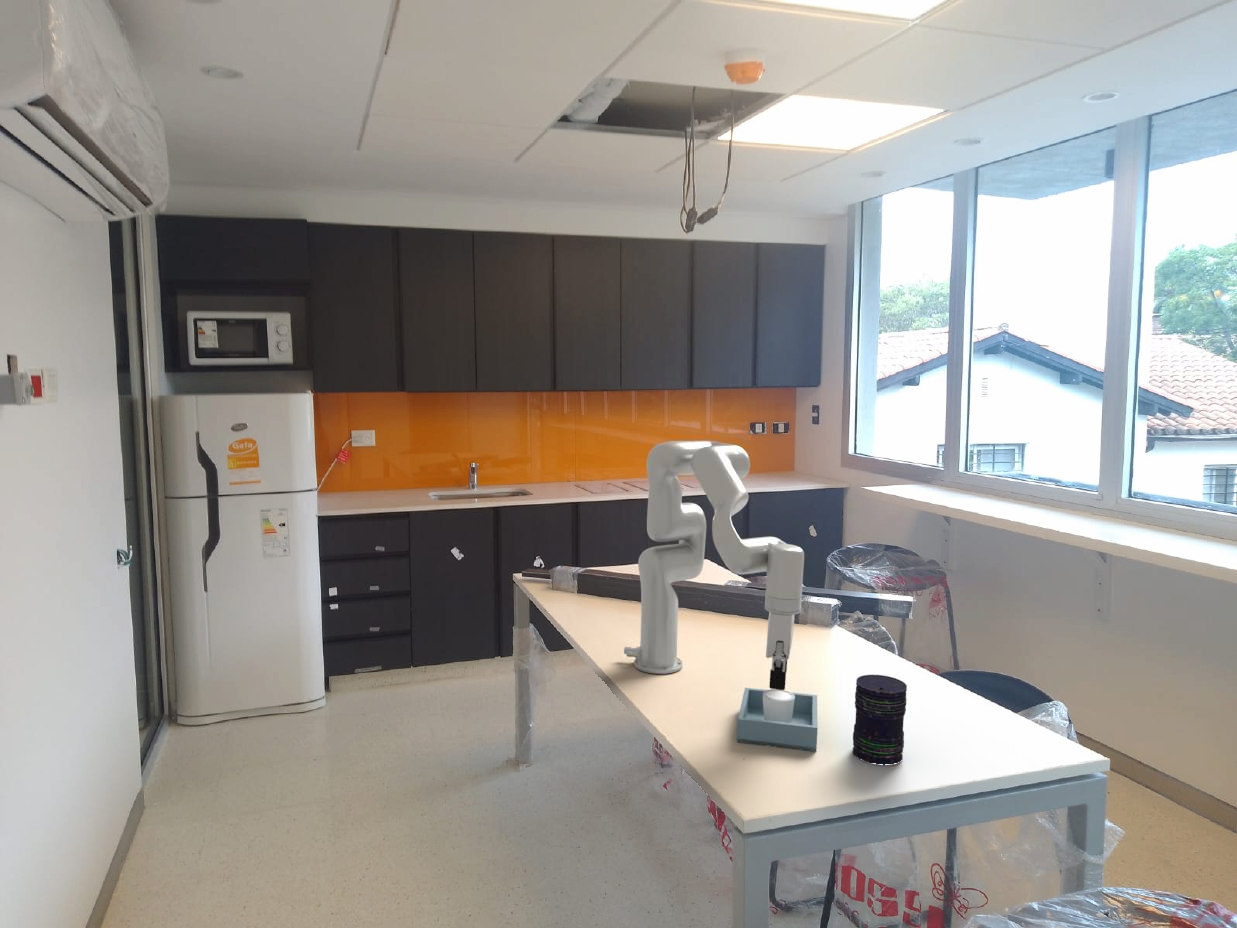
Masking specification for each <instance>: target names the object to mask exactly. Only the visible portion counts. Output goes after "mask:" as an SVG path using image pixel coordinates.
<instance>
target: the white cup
mask: <svg viewBox="0 0 1237 928" xmlns="http://www.w3.org/2000/svg"><path fill="white" fill-rule="evenodd" d="M765 690H766V691H764V692H763V710H764V720H769V721H778V722H786V723H791V721H792V714H793V707H794V700H795V695H794V694H792V693H793V692H792V693H791V691H789V690H778V689H771V688H770V689H765Z"/></svg>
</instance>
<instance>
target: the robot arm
mask: <svg viewBox="0 0 1237 928" xmlns="http://www.w3.org/2000/svg"><path fill="white" fill-rule="evenodd" d="M749 457H750V456H749V455H748V453H747V452H746V450H744V448H742V447H741V446H739V445H736V444H731V443H726V442H720V441H719V442H718V441H713V440H677V441H676V440H675V441H674V440H672V441H665V442H661V443H658V444H656V445H655V446H653V447H652V448H651V450H650V451H649V453H648V456H647V458H646V474H647V480H648V495H647V496H648V498H647V511H646V512H647V514H646V515H647V516H646V532H647V535H648V537H649V538H650V539H651V540H652V541H654V542H659V543H663V542H664V543H665V542H677V541H678V543H675V544H665V545H664V544H663V545H657V546H652V547H649V548H646V549H645V550H643V551H642V553H640V555H639V557H638V560H637V561H638V563H637V565H638V566H637V567H638V573H639V578H640V579H639V580H640V590H641V591H640V592H641V593H640V595H641V596H640V597H641V601H640V604H641V605H640V609H641V610H640V614H641V615H640V641H639V642H640V644H639V645H640V646H636V647H632V646H624V648H623V649H624V650H623V654H624V655H626V657H629V658H635V659H634V660H633V666H634V668H635V669H638V670H639V671H641V672H644V673H648V674H656V675H657V674H659V675H664V674H666V675H667V674H672V673H673V674H674V673H676V672H678V671H680V670H682V668H683V660H681V659H680V658H678V655H677V654H678V623H679V598H678V595H677V592H676V591H675V590H674V588H673V586H672V583H675V582H682V581H687V580H692V579H695V578H697V577H699V576H700V574H701V572H702V571H703V568H704V564H705V563H704V561H705V552H706V551H705V549H706V537H707V519H706V516H705V512H704V511H703V509H702V508H701V506H699V505H698V504H696V503H694V502H683V499H682V498H683V487H682V483H681V482H680V480H679V478H678V476H694V475H695V477H696V479H697V480H698V483H699V484H700V486H701V488H702V490H703V492H704V493H705V495H706V497H707V499H708V500H709V503H710V504H711V507H713V509H714V515H713V518H712V522H711V524H712V525H711V531H712V532H711V534H712V541H713V544H714V547H715V548H716V550H717V553H718V554H719V556H720V558H721V561H723V563H724V565H725V566H726V568H728V569H729V571H731V572H732V573H734V574H737V575H749V574H756V573H757V574H758V573H766V578H765V579H766V583H765V597H764V609H765V610H766V611H767V612H768V613H769V614H768V618H767V619H768V620H767V630H766V631H767V632H766V633H767V635H766V648H765V649H766V651H765V657H766V658H767V659H770V658H771V659H772V660H771V669H770V674H769V685H768V686H769V688H770V690H771V689H778V690H785V689H786V679H787V671H788V669H787V668H788V661H789V659H790V656H791V655H790V654H791V650H792V645H793V637H794V628H795V627H794V626H795V615H798V614H800V613H801V611H802V609H801V608H802V600H803V599H802V597H803V596H802V593H803V583H804V568H805V567H804V566H805V552H804V550H803V549H802V548H801V547H800V546H797V545H795V544H789V543H786V542H785V541H783V540H781V539H780V538H778V537H776V536H759V537H752V538H751V537H749V538H741V537H740V536H739V534H738V533H737V531H736V529H735V527H734V525H733V521H732V516H734V515H735V514H737V513H738V512H740V511H742V509H743V508H744V507H745V506H746V505H747V503H748V502H749V497H750V496H749V492H748V491H747V489H746V487H745V486H744V485H743V482H742V481H741V480H742V479H744V478H745V477H747V476H748V474H749V472H750V468H751V461H750V458H749ZM785 691H786V690H785Z"/></svg>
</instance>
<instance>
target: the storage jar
mask: <svg viewBox="0 0 1237 928" xmlns="http://www.w3.org/2000/svg"><path fill="white" fill-rule="evenodd" d="M855 684H856V686H855V693H854V699H855V701H854V708H855V722H854V725H853V733H852V745H853V748H852V755H854V757H855V756H856V757H855V758H857V757H858V758H859V759H858V758H857V759H858V760H860V759H862V760H864V761H866V762H869V763H876V764H883V765H885V764H894V763H898V762H900V761H901V760H902V761H903V758H904V757H903V753H904V746H905V732H904V718H905V715H906V711H907V708H906V706H907V691H908V689H907V687H908V686H907V684H906V682H904V681H903V680H901V679H898V678H895V677H893V676H888V675H885V674H884V675H883V674H882V675H881V674H865V675H861V676H858V677H857V678H856V682H855ZM862 760H861V761H862ZM864 761H863V762H864ZM902 761H901V762H902ZM866 762H865V763H866ZM901 762H900V763H901ZM869 763H868V764H869Z"/></svg>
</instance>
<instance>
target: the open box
mask: <svg viewBox="0 0 1237 928" xmlns="http://www.w3.org/2000/svg"><path fill="white" fill-rule="evenodd" d="M766 690H767V689H763V688H751V687H744V690H743V695H742V699H741V703H740V709H739V712H738V716H737V717H738V718H737V731H736V743H742V744H748V743H749V745H759V746H765V745H770V746H769V747H773V746H776V747H775V748H781V747H782V748H783V749H790V750H791V749H793V750H798V749H802V750H801V751H807V750H808V751H807V752H815V751H816V752H817V747H818V744H817V743H818V695H817V694H811V693H799V692H791V691H790V692H791V693H792V694H794V695H795V700H794V707H793V714H792V721H791V723H786V722H778V721H769V720H764V710H763V692H764V691H766Z"/></svg>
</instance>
